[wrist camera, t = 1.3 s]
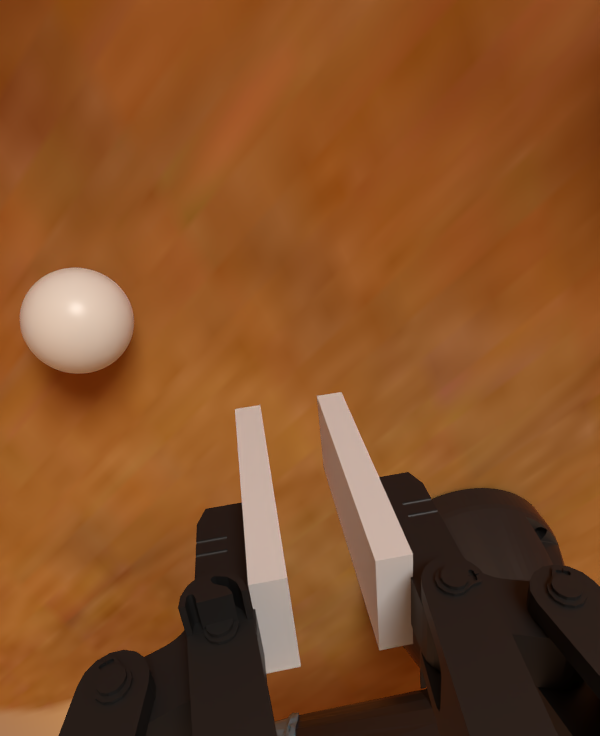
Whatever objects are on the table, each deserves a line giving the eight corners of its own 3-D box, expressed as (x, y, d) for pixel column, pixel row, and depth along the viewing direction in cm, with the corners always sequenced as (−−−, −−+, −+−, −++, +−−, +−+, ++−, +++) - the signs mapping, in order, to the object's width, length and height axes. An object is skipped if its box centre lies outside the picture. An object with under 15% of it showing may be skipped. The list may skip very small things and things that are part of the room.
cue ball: (146, 344, 32) (134, 387, 27) (49, 350, 31) (19, 396, 26) (132, 253, 29) (116, 283, 25) (27, 258, 29) (-11, 290, 24)
